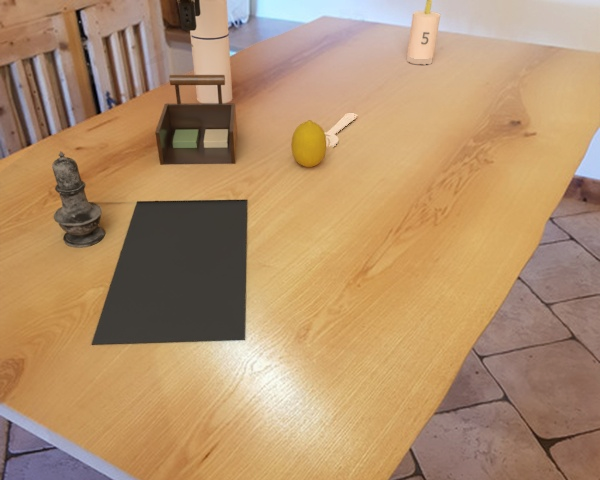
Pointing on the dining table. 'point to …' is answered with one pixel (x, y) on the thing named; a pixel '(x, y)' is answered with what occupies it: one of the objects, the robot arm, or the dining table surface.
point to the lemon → (309, 144)
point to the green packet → (186, 138)
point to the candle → (423, 33)
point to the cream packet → (216, 138)
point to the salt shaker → (75, 206)
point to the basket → (196, 125)
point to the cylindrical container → (212, 49)
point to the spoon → (338, 129)
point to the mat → (179, 275)
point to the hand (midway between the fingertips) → (191, 22)
